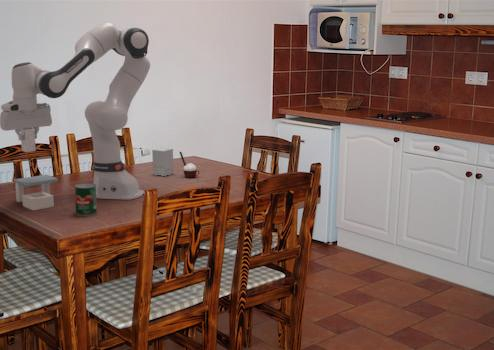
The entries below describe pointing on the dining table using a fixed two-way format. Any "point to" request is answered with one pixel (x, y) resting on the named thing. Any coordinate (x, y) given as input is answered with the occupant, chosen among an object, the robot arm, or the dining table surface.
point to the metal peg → (28, 140)
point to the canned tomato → (85, 199)
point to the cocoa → (189, 168)
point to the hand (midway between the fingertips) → (27, 139)
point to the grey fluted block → (162, 161)
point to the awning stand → (35, 199)
